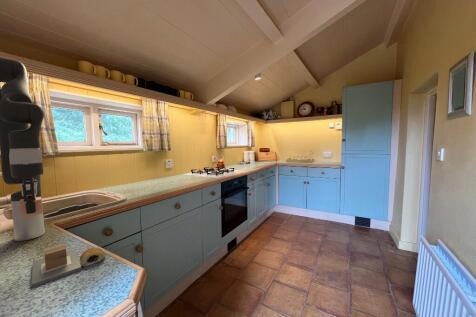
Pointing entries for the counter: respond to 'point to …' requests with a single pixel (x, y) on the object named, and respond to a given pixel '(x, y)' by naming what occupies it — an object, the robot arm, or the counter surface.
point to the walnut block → (55, 256)
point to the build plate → (54, 269)
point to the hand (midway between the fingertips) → (31, 211)
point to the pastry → (91, 256)
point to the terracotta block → (37, 203)
